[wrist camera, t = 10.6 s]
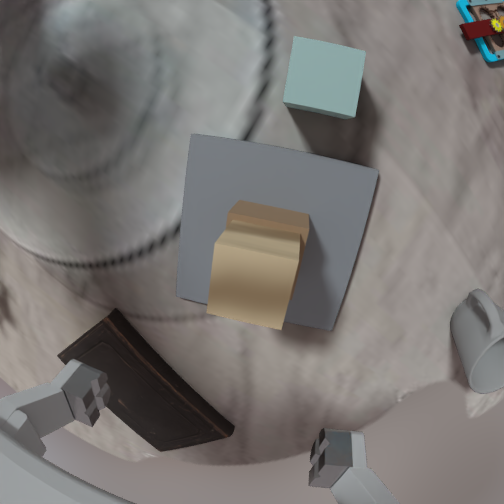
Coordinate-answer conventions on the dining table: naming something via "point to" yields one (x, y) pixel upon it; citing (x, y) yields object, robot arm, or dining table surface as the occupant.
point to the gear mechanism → (483, 26)
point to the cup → (480, 341)
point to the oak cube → (253, 273)
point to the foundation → (275, 216)
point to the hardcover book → (146, 387)
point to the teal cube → (324, 78)
